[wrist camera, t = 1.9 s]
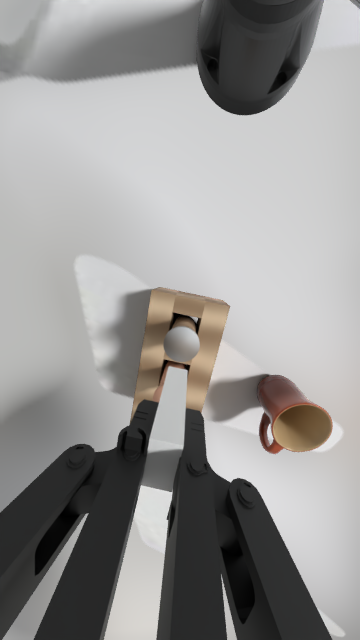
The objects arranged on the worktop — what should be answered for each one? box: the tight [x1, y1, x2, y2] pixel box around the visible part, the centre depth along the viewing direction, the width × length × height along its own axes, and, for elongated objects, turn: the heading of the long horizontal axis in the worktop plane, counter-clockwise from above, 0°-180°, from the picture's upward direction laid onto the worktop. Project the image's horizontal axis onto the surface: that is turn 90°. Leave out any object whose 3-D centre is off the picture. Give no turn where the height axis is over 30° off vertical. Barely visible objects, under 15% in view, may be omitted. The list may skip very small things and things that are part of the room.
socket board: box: [130, 287, 230, 423], centre depth 34 cm, size 26×12×7 cm, turn 169°
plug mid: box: [153, 361, 185, 402], centre depth 28 cm, size 4×4×9 cm
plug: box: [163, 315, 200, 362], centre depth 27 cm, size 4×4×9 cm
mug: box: [257, 375, 333, 454], centre depth 33 cm, size 12×9×10 cm
